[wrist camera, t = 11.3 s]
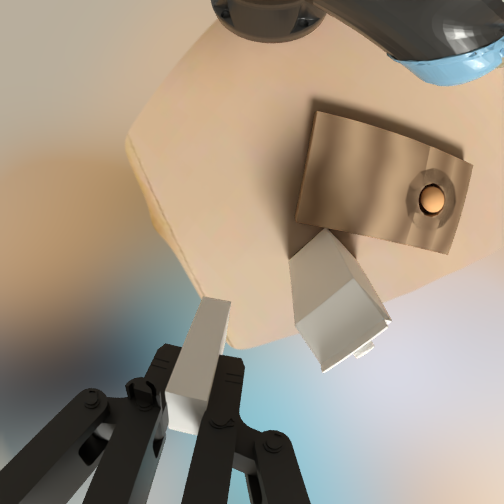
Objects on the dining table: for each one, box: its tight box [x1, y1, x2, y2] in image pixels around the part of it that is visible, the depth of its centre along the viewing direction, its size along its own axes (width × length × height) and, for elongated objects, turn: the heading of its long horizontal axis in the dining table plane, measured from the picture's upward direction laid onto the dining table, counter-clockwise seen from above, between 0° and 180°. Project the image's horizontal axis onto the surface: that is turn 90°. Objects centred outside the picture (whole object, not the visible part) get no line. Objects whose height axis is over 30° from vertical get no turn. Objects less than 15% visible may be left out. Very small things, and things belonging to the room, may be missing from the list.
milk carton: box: [289, 228, 392, 373], centre depth 31 cm, size 7×7×19 cm
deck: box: [295, 111, 473, 255], centre depth 34 cm, size 24×14×2 cm, turn 81°
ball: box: [421, 186, 444, 212], centre depth 33 cm, size 4×4×4 cm
